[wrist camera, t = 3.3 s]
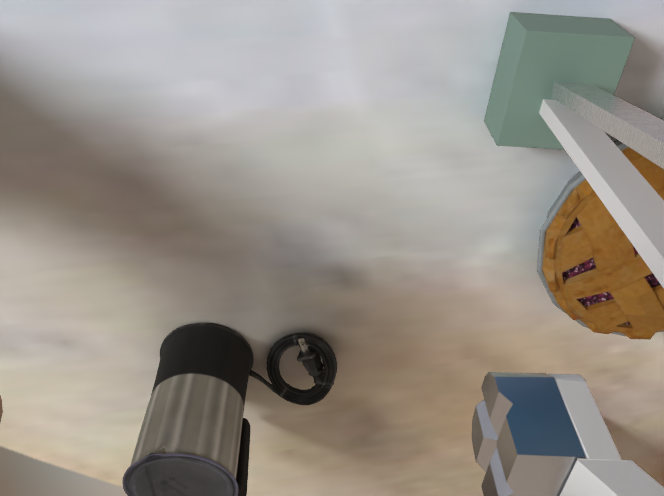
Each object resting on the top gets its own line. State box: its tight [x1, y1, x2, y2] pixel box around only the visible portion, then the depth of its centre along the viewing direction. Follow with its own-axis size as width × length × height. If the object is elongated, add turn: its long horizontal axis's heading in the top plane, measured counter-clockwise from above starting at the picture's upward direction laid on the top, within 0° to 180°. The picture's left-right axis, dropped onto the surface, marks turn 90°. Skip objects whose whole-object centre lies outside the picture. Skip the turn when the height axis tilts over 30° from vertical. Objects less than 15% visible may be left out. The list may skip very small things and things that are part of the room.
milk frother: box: [123, 323, 337, 496], centre depth 54 cm, size 14×16×15 cm
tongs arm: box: [551, 82, 664, 169], centre depth 29 cm, size 1×2×22 cm, turn 86°
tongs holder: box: [484, 12, 664, 288], centre depth 33 cm, size 8×7×27 cm
